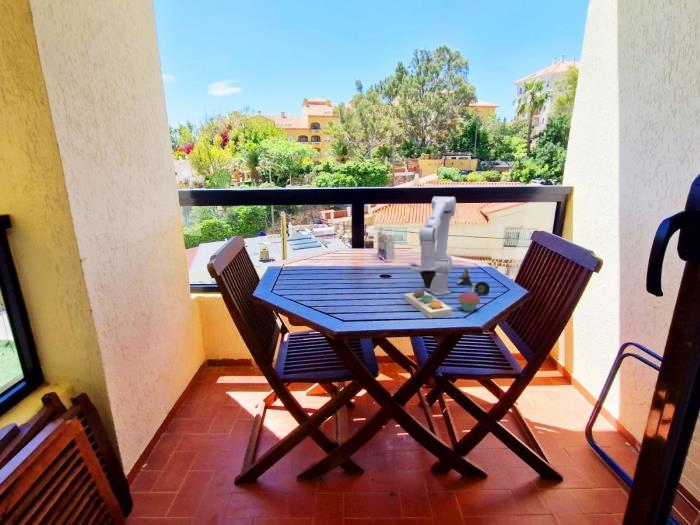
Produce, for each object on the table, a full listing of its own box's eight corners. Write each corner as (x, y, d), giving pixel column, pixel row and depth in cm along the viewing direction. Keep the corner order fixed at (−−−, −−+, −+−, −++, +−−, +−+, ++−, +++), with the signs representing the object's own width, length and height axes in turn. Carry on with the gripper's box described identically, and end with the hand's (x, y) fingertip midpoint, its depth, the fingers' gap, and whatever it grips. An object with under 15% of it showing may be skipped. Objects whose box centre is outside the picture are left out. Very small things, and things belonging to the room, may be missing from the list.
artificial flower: (472, 299, 176) (467, 279, 174) (457, 289, 198) (451, 270, 196) (491, 293, 176) (486, 273, 174) (473, 283, 198) (468, 265, 196)
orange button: (427, 307, 160) (428, 301, 160) (437, 306, 162) (437, 300, 161) (433, 311, 156) (433, 305, 156) (443, 309, 157) (443, 303, 157)
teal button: (419, 301, 167) (419, 296, 166) (429, 300, 168) (429, 294, 167) (424, 305, 163) (424, 299, 162) (434, 304, 164) (434, 298, 163)
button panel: (404, 299, 175) (404, 293, 174) (424, 296, 178) (424, 291, 177) (429, 318, 154) (429, 312, 153) (452, 314, 157) (452, 308, 156)
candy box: (377, 256, 249) (377, 231, 245) (385, 256, 251) (385, 230, 247) (385, 262, 237) (385, 235, 232) (394, 261, 238) (394, 234, 234)
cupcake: (474, 305, 166) (476, 278, 163) (482, 312, 157) (484, 284, 154) (454, 306, 165) (456, 278, 162) (461, 313, 157) (463, 285, 154)
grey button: (412, 296, 173) (412, 291, 172) (421, 295, 174) (421, 289, 174) (417, 299, 169) (417, 294, 168) (426, 298, 170) (426, 292, 170)
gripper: (416, 260, 154) (416, 292, 158) (448, 256, 158) (447, 288, 162) (408, 256, 161) (408, 287, 164) (439, 252, 165) (438, 283, 168)
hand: (427, 287), depth 164 cm, fingers closed
